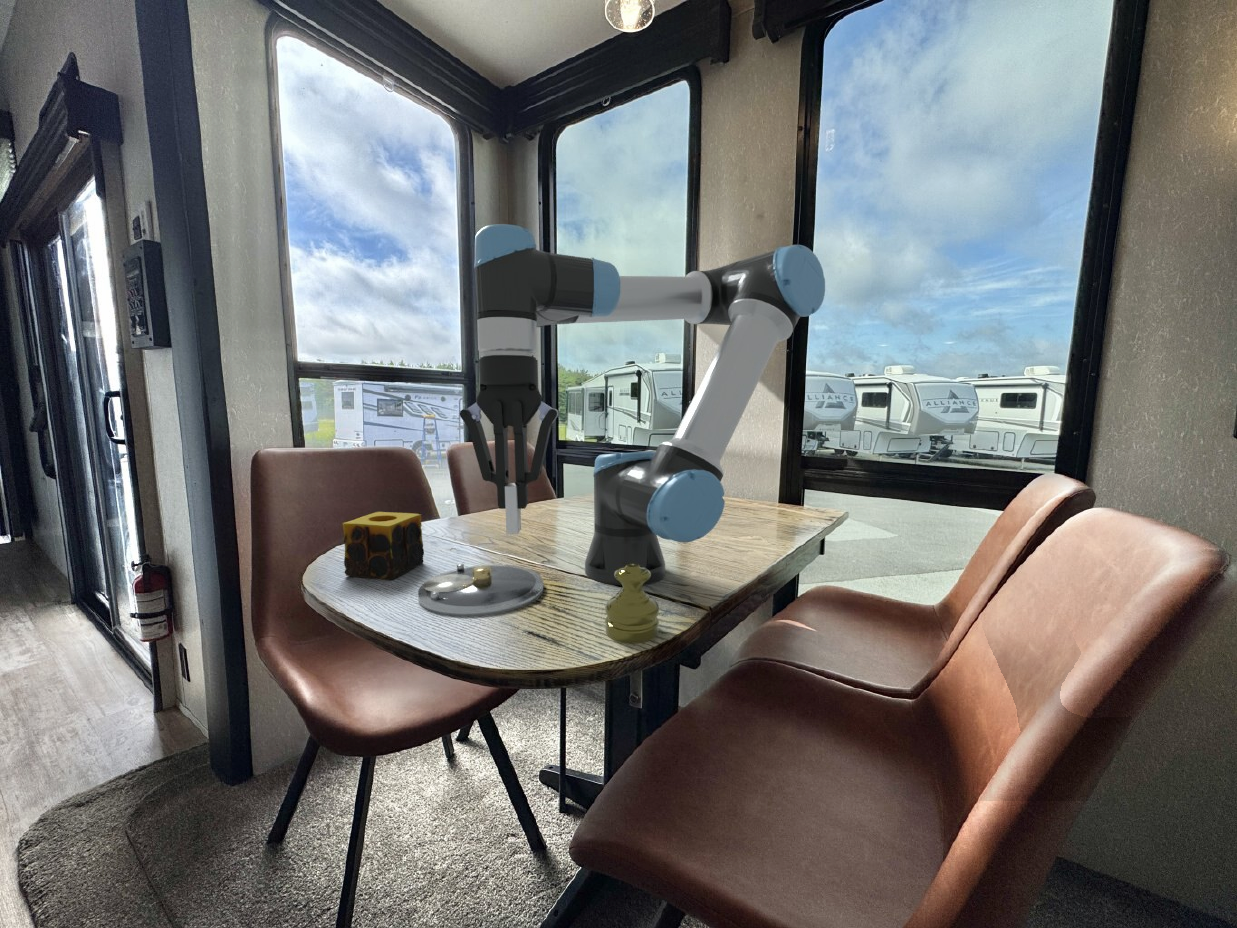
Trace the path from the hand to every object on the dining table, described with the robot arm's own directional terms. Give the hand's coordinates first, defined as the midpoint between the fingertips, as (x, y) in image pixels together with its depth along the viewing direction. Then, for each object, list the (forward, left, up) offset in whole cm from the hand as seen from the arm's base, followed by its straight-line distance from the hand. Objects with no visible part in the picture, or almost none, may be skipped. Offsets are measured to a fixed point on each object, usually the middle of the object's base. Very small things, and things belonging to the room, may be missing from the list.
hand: (513, 531), depth 69 cm
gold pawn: (-16, +1, -15) cm, 22 cm away
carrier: (+8, -14, -14) cm, 22 cm away
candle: (+29, -25, -15) cm, 41 cm away
